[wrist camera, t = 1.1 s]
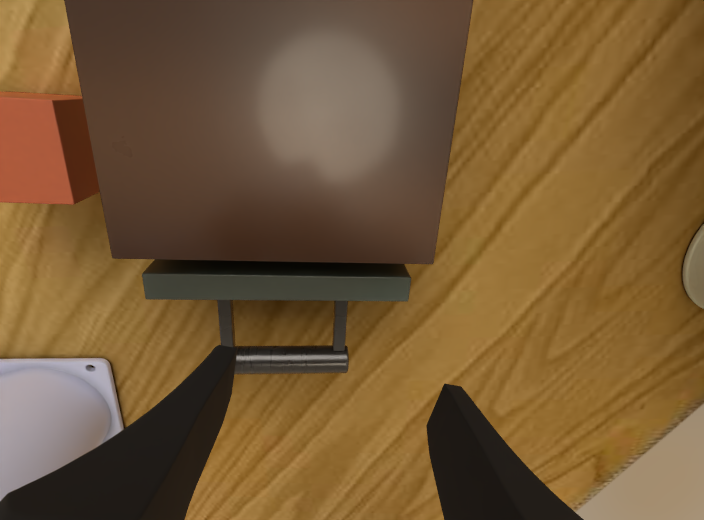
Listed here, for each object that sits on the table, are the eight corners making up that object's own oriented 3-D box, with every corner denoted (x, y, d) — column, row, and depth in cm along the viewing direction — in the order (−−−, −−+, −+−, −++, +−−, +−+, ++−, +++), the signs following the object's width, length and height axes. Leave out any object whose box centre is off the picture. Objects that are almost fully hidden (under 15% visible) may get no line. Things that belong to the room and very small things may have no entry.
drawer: (378, 328, 25) (396, 392, 20) (193, 328, 24) (160, 396, 19) (414, -25, 18) (457, -69, 13) (151, -51, 17) (80, -112, 12)
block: (30, 180, 21) (-34, 201, 17) (8, 91, 19) (-69, 92, 15) (117, 183, 21) (74, 204, 17) (102, 97, 20) (51, 99, 16)
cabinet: (397, 212, 23) (433, 264, 16) (173, 205, 22) (111, 258, 15) (432, -106, 18) (508, -225, 11) (133, -142, 16) (6, -304, 9)
